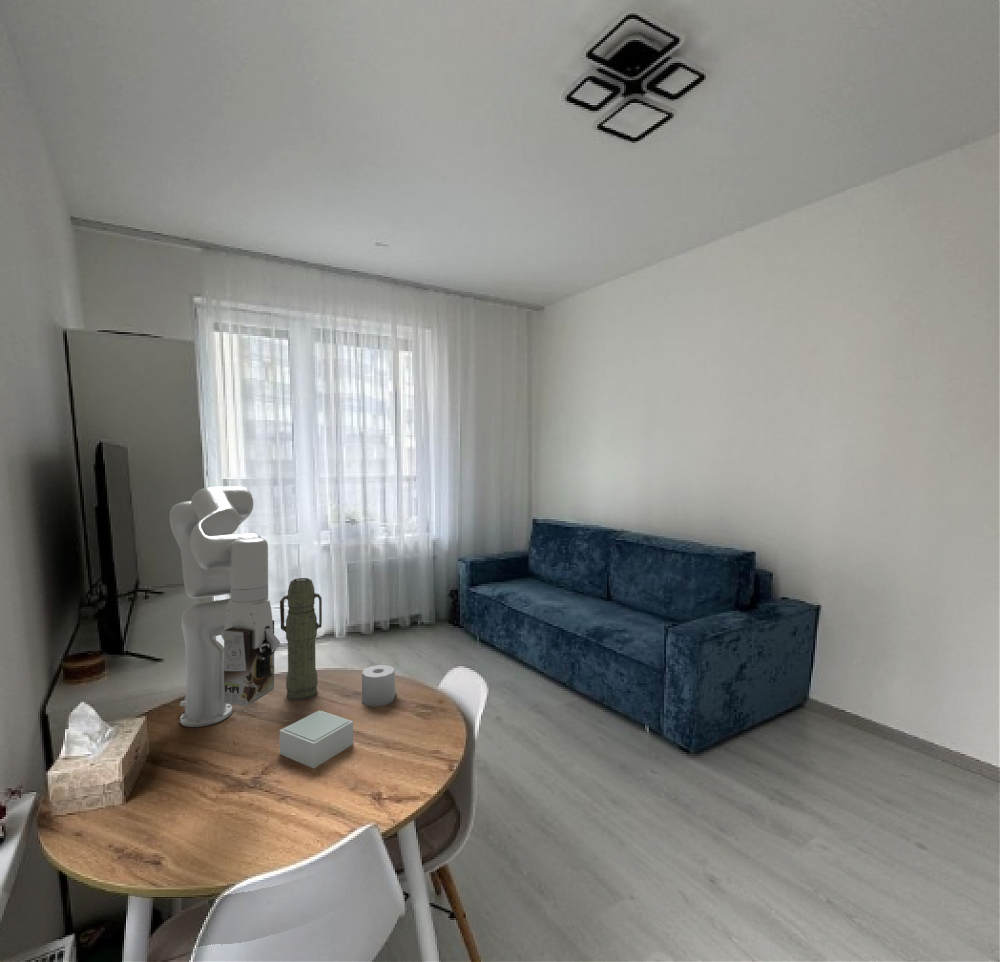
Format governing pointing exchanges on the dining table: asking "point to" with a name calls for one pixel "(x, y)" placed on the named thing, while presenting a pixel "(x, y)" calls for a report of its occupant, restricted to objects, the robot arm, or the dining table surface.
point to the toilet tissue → (378, 685)
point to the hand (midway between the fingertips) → (250, 672)
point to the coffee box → (243, 669)
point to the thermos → (301, 638)
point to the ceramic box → (316, 738)
